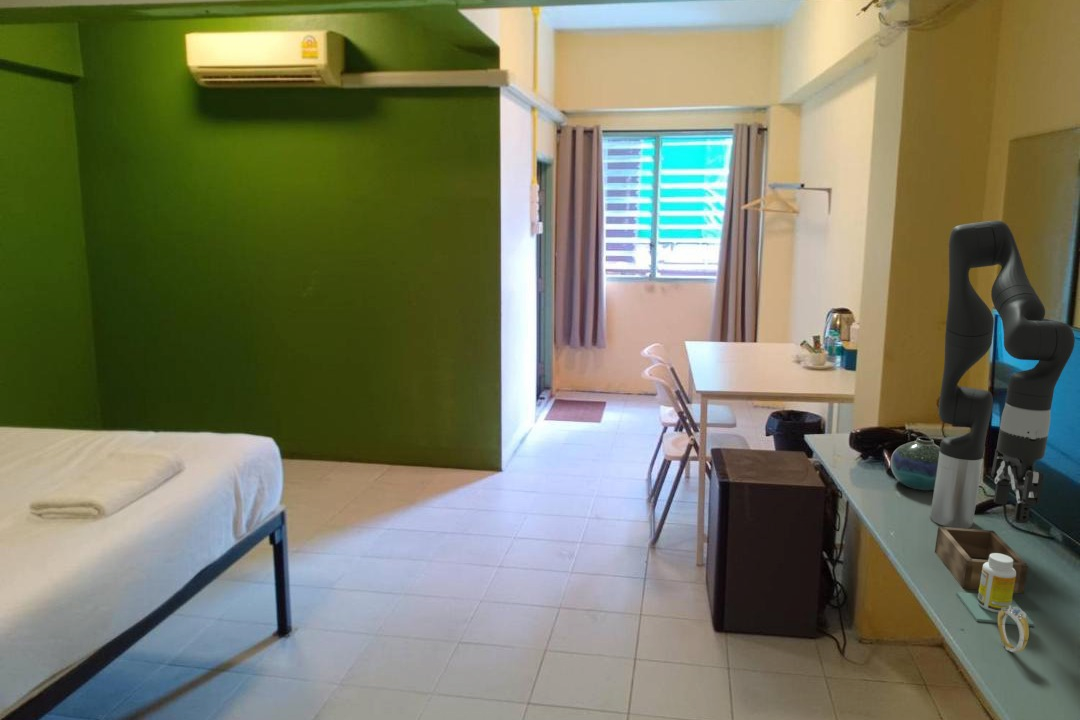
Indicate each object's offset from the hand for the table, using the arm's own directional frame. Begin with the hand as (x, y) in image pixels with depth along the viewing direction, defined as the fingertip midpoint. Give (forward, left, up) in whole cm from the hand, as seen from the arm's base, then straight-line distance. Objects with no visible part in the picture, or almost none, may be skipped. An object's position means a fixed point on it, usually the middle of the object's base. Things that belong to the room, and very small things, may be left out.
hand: (1010, 512), depth 147 cm
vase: (-53, -40, -20) cm, 69 cm away
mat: (0, 0, -20) cm, 20 cm away
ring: (+12, +7, -20) cm, 25 cm away
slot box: (-14, -9, -20) cm, 26 cm away
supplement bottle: (0, 0, -20) cm, 20 cm away
